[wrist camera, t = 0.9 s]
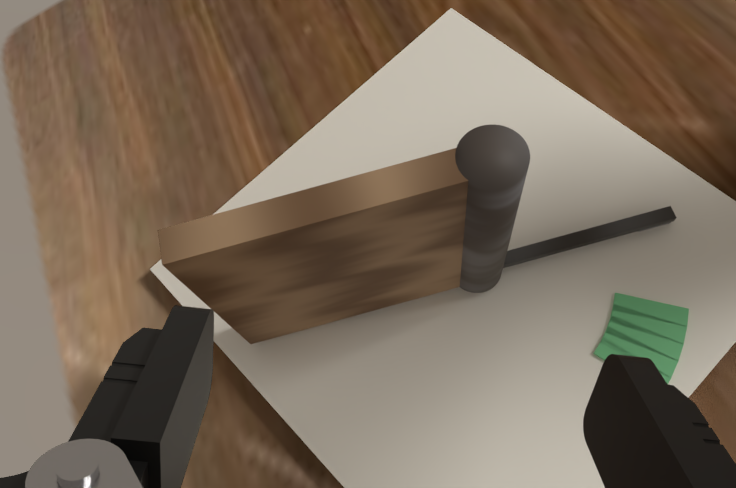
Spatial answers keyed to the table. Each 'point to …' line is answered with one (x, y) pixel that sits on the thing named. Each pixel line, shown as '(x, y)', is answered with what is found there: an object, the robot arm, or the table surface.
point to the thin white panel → (509, 296)
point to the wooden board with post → (370, 239)
